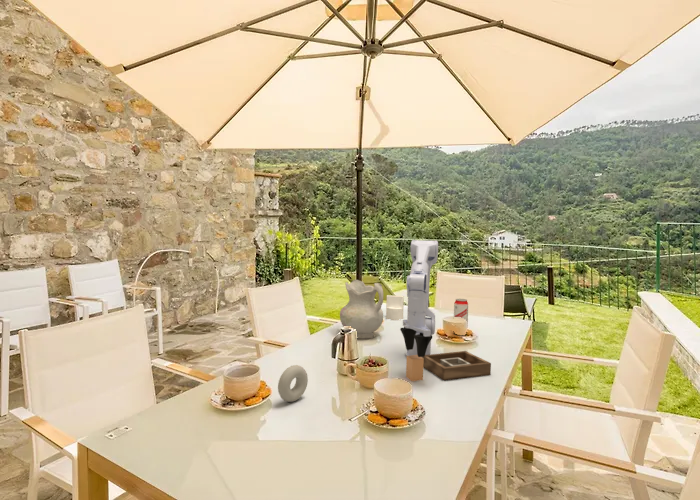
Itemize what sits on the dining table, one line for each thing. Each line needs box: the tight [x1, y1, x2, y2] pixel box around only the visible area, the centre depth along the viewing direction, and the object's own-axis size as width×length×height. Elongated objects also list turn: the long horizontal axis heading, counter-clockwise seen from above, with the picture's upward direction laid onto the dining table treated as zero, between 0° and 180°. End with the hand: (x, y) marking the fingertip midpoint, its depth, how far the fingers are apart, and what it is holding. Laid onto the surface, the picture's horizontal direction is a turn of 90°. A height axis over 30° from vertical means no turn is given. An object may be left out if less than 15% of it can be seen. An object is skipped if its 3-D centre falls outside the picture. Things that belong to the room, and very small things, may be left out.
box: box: [422, 350, 492, 382], centre depth 142 cm, size 14×18×4 cm
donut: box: [277, 364, 309, 403], centre depth 115 cm, size 10×4×10 cm, turn 140°
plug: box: [405, 355, 424, 382], centre depth 134 cm, size 4×4×7 cm
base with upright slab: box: [385, 294, 405, 321], centre depth 219 cm, size 9×9×12 cm
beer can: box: [453, 298, 469, 327], centre depth 189 cm, size 6×6×16 cm
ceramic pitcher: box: [339, 279, 384, 340], centre depth 183 cm, size 22×20×25 cm
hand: (415, 352), depth 133 cm, fingers open, 7 cm apart
